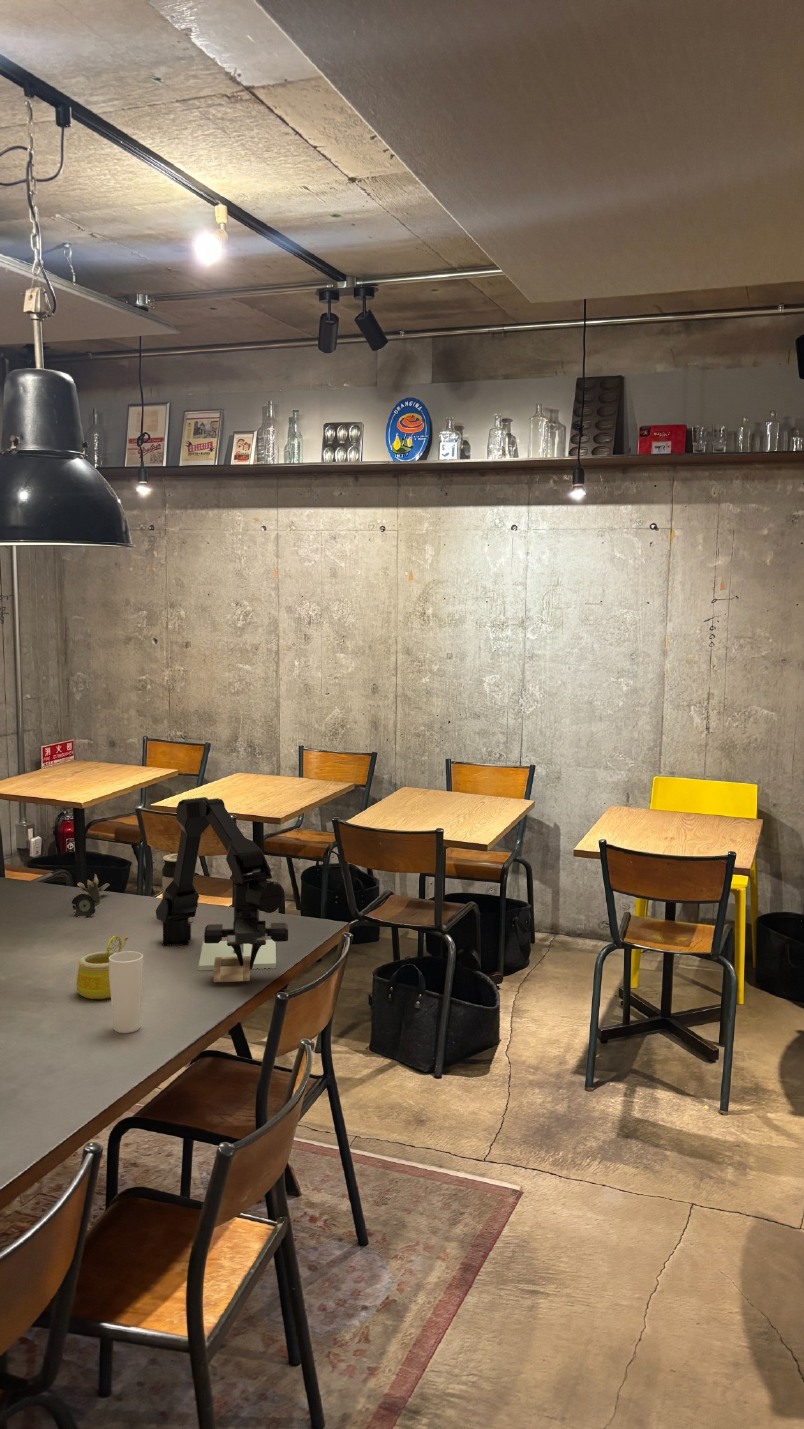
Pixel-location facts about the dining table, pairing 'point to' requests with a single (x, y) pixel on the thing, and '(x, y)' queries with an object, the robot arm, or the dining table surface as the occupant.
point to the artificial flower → (88, 898)
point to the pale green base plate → (212, 950)
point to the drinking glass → (126, 990)
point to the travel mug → (169, 873)
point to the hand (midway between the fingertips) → (246, 969)
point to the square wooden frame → (231, 969)
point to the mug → (96, 972)
